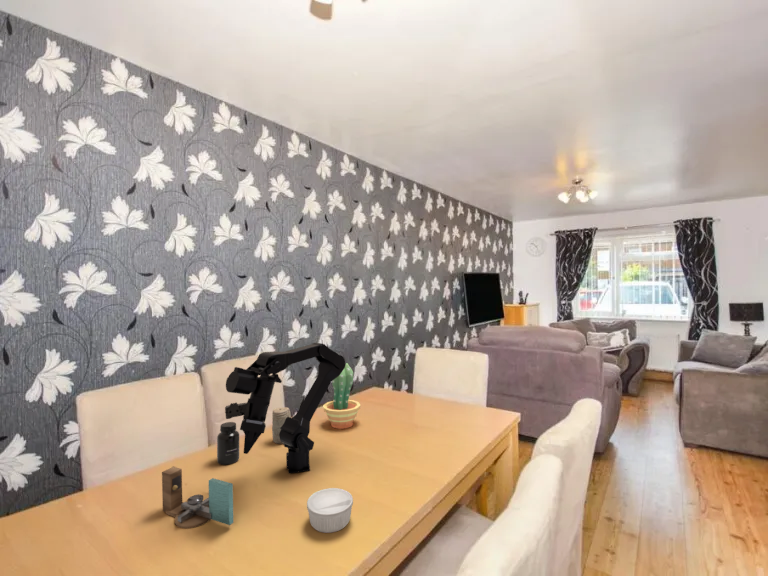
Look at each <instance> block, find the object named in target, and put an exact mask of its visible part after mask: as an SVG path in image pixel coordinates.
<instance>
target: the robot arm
mask: <svg viewBox="0 0 768 576" xmlns="http://www.w3.org/2000/svg"><path fill="white" fill-rule="evenodd" d="M314 358H315V360H316V361H317V362H318V363H319V364H318V366H317V367H318V369H317V371H318V372H317V376H316V379H315V380H314V382H313V383H312V386H311V387H310V389H309V390H308V392H307V394H306V396H305V398H304V400H303V401H302V403H301V405H300V406H299V409H298V411H297V412H296V414H295V415H294V416H291V418H290V417H287V418H286V419H285V422H284V424H283V425H282V427H281V428H280V429H281V431H280V433H279V436H280V441H281V442H282V444H283V447H284V448H287V450H288V451H287V452H286V454H285V455H286V456H285V457H286V462H285V464H286V470H288V474H296V473H301V472H303V473H304V472H308V471H310V470H311V466H310V452H311V450H312V451H313V449H314V446H315V441H313V440H312V439H311V438H309V437H308V436H309V434H310V431H311V429H310V428H311V427H310V426H311V420H312V419H313V417H314V415H315V413H316V411H317V409H318V407H319V405H320V404H321V402H322V400H323V398H324V396H325V394H326V393H327V390H328V388H329V387H330V385H331V384H332V381H333V380H334V379H336V378H337V377H338V376H339V375H340V374H341V373H342V371H343V370H344V368H345V365H346V363H347V362H346V359H345V357H344V356H343V355H341V354H338V353H337V352H336V351H334V350H332V349H330V348H329V347H328V346H327V345H326V344H324V343H321V342H313V343H311V344H308V345H305V346H300V347H297V348H292V349H289V350H285V351H263V352H261V353H259V355H258V357H257V358H256V360H255V361H253V363H252V364H250V365H249V366H247V368H246V369H245V368H242V367H238V366H235V367H234V369H233V371H231V372H230V374H229V375H228V377H227V378H226V381H225V389H226V392H227V393H233V394H241V395H246V396H247V395H248V396H249V395H250V396H249V398H247V402H243V403H242V402H241V403H240V402H239V403H238V402H236V401H235V402H233V403H230V404H228V405H226V406H225V407H224V409H225V410H224V413H225V419H226V420H229V419H232V418H237V417H241V416H242V418H243V419H242V421H241V424H240V427H239V430H240V431H242V432H243V433H244V441H243V442H244V443H243V454H245V455H249V452H250V451H251V450H252V448H253V446H254V445H255V444H256V442H257V441H258V439H259V438H260V436H261V435H262V434H264V433H265V431H266V430H265V429H266V425H267V423H265V422H266V419H267V414H268V410H269V407H270V403H271V400H272V399H271V398H272V394H273V391H274V386H275V383H277V384H279V383H280V384H281V383H282V379H281V378H280V376H279V373H281V372H282V371H284V370H287V368H288V367H289V366H291V365H294V364H298V363H300V362H305V361H306V360H310V359H314Z"/></svg>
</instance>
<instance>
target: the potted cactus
mask: <svg viewBox="0 0 768 576" xmlns="http://www.w3.org/2000/svg"><path fill="white" fill-rule="evenodd" d="M345 363H346V365H345V368H344V370H343V371H342V373H341V374H340V375H339V376H338V377H337V378H336V379H334V380H333V381H332V382H331V385H332V387H333V400H331V401H327V402H325V403H324V404H323V411H324V412H325V413H326V417H327V420H328V421H330V423H331V427H332V428H334V429H340V430H341V429H347V428H350V427H352V426H353V425H354V420H355V419H356V417H357V415H358V411H359V410H360V409H361V404H360V402H359V401H357V400H355V399H354V400H353V399H352V400H351V399H350V398H349V397H350V393H351V389H352V386H353V384H354V371H353V369H352V367H350V365H349V363H347V362H345Z"/></svg>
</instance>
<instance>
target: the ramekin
mask: <svg viewBox="0 0 768 576" xmlns="http://www.w3.org/2000/svg"><path fill="white" fill-rule="evenodd" d="M306 501H307V502H306V509H307V512H308V518H309V523H310V525H311V527H312V528H313V529H314V530H316V531H317V532H319V533H327V534H328V533H336V532H338V531H341V530H343V529H344V528H345V527H347V525H348V523H350V520H351V515H352V509H353V508H352V507H353V504H354V498H353V496H352V494H351V493H350V492H349V490H348V491H347V490H345V489H342V488H339V487H338V488H337V487H329V488H324V489H323V488H322V489H321V490H318V491H315V492H314V493H312V494H311V495H310V496H309V497H308V499H307V500H306Z"/></svg>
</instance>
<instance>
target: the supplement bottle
mask: <svg viewBox="0 0 768 576" xmlns="http://www.w3.org/2000/svg"><path fill="white" fill-rule="evenodd" d="M216 459H217V461H216V462H217V464H219V465H223V466H226V465H231V464H234V463H237V462H238V461H239V459H240V433H239V431H238V430H237V423H236V422H233V421H228V422H222V424H220V430H219V433H218V434H217V436H216Z"/></svg>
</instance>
